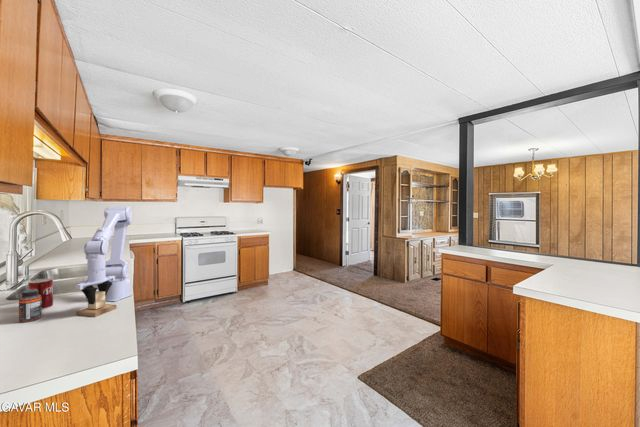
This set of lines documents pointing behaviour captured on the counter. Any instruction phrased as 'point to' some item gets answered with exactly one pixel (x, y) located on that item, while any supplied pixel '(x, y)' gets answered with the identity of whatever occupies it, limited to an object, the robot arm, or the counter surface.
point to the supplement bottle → (30, 306)
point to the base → (96, 311)
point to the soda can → (43, 291)
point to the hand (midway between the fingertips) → (97, 301)
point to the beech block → (98, 300)
